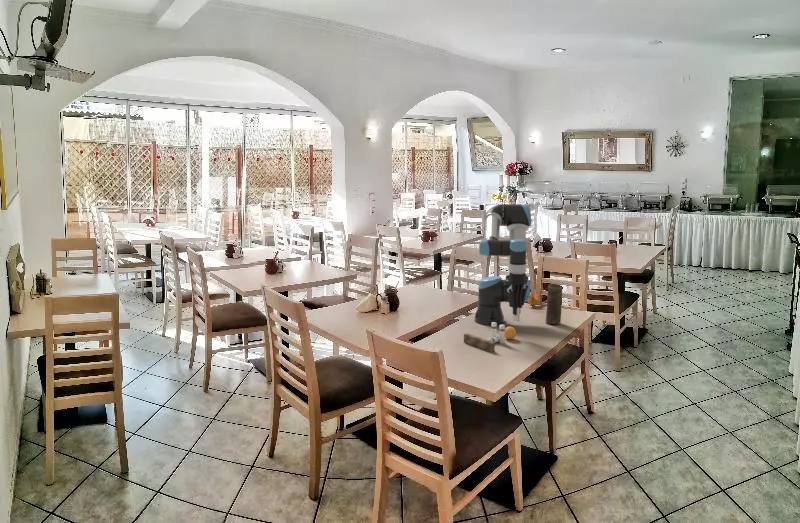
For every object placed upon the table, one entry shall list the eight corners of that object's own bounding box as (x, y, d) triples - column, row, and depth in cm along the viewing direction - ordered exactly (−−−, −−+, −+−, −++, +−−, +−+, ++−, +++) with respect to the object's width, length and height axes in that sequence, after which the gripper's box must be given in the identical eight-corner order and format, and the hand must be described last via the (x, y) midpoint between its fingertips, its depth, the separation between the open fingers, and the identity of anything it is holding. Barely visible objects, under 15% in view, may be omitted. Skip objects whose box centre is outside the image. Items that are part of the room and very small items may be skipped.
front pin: (500, 340, 278) (487, 343, 273) (500, 335, 278) (486, 338, 273) (504, 341, 276) (490, 344, 271) (504, 336, 276) (490, 339, 271)
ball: (512, 332, 284) (506, 341, 282) (505, 323, 282) (498, 333, 280) (520, 332, 279) (514, 342, 276) (513, 324, 277) (506, 333, 275)
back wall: (463, 342, 276) (463, 334, 275) (466, 341, 277) (467, 333, 276) (491, 352, 261) (491, 343, 260) (494, 351, 262) (494, 342, 262)
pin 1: (490, 340, 278) (490, 323, 276) (492, 339, 280) (492, 321, 278) (495, 341, 276) (495, 323, 275) (497, 340, 278) (497, 322, 277)
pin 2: (498, 343, 273) (498, 325, 272) (500, 342, 275) (500, 324, 274) (503, 344, 272) (503, 326, 271) (505, 342, 274) (505, 325, 273)
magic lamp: (545, 303, 346) (546, 285, 344) (532, 310, 332) (533, 291, 330) (534, 302, 350) (535, 283, 348) (521, 308, 336) (521, 289, 334)
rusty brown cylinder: (559, 321, 308) (561, 284, 305) (562, 325, 301) (563, 287, 298) (544, 321, 309) (546, 283, 306) (546, 325, 302) (548, 286, 298)
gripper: (521, 269, 284) (519, 316, 289) (501, 273, 277) (500, 321, 282) (533, 271, 278) (531, 320, 283) (513, 275, 271) (512, 325, 276)
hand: (516, 320), depth 282 cm, fingers closed
